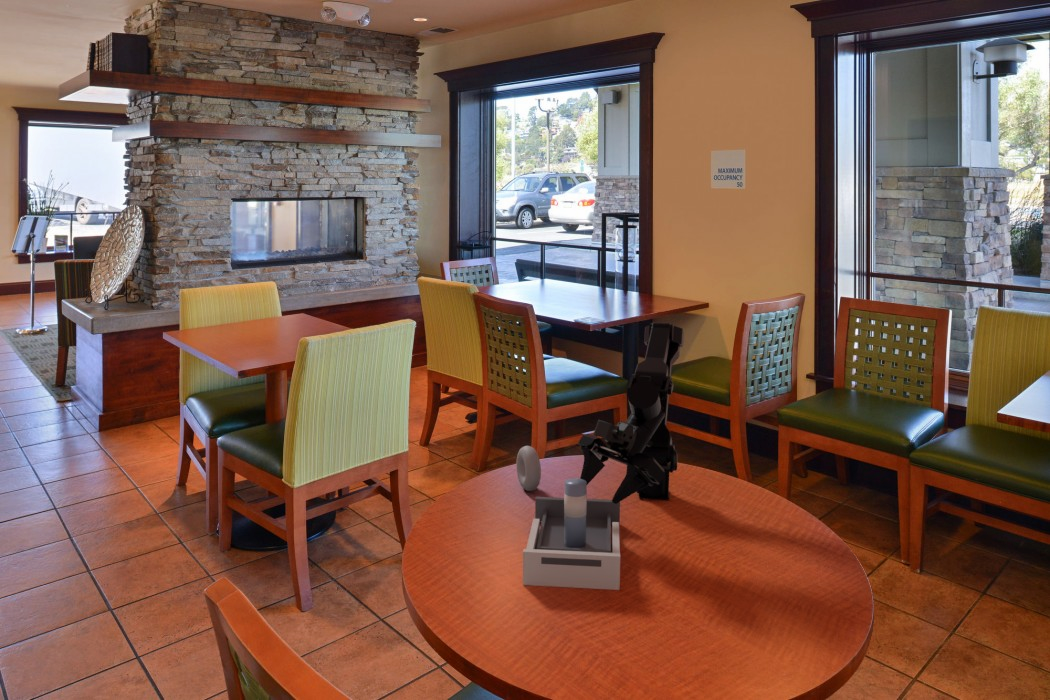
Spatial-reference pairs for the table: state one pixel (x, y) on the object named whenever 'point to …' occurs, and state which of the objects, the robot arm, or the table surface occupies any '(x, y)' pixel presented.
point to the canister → (575, 513)
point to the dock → (571, 565)
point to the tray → (596, 524)
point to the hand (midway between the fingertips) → (596, 495)
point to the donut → (528, 468)
